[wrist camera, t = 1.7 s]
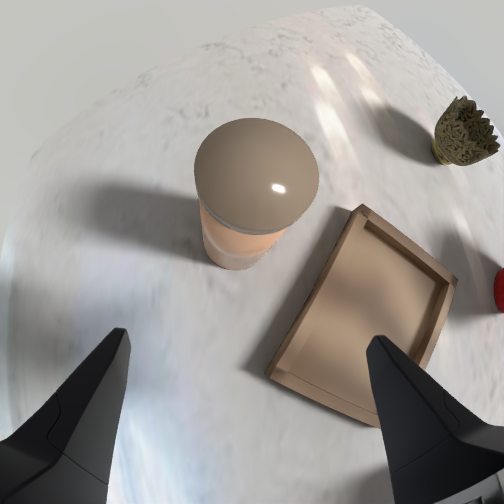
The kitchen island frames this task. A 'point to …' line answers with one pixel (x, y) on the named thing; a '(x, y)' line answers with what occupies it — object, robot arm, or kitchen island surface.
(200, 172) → the spice jar
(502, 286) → the plastic cup
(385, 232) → the tray
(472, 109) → the cup
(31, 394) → the kitchen island surface
